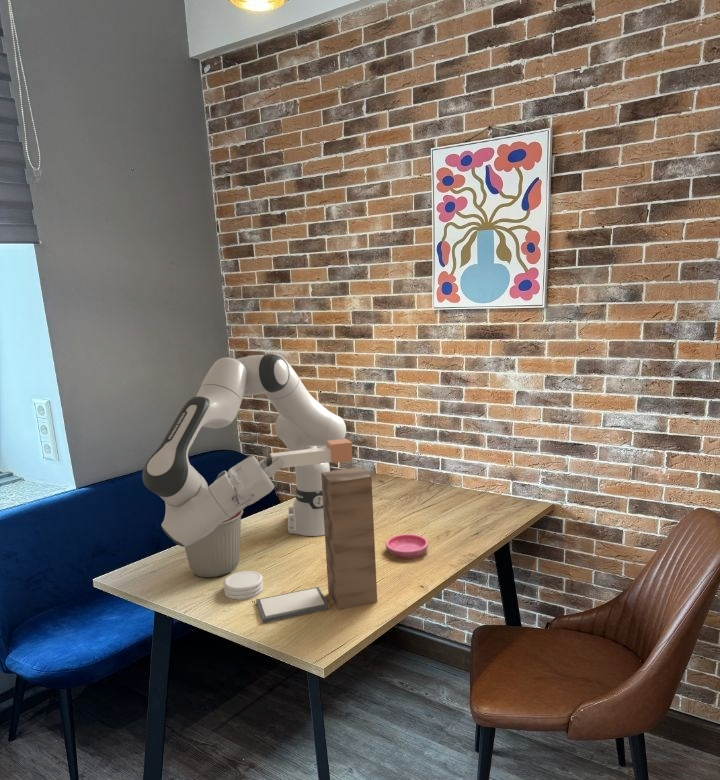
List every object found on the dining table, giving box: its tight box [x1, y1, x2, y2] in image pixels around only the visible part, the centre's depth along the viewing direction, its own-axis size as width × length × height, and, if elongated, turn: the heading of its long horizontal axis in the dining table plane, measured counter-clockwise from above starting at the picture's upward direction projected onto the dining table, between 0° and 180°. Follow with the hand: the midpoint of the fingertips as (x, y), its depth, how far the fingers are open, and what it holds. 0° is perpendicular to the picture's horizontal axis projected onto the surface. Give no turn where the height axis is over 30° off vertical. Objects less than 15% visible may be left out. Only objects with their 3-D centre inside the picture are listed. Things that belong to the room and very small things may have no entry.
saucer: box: [385, 533, 429, 560], centre depth 173 cm, size 12×12×3 cm
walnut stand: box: [321, 466, 378, 611], centre depth 146 cm, size 9×10×32 cm
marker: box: [264, 438, 353, 469], centre depth 140 cm, size 4×20×4 cm, turn 109°
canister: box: [184, 509, 244, 578], centre depth 167 cm, size 18×18×21 cm
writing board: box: [255, 586, 330, 624], centre depth 146 cm, size 10×16×1 cm, turn 109°
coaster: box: [223, 570, 264, 601], centre depth 155 cm, size 10×10×4 cm
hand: (280, 458), depth 138 cm, fingers closed on marker, 3 cm apart
